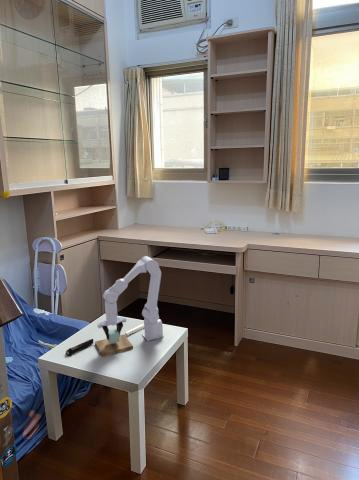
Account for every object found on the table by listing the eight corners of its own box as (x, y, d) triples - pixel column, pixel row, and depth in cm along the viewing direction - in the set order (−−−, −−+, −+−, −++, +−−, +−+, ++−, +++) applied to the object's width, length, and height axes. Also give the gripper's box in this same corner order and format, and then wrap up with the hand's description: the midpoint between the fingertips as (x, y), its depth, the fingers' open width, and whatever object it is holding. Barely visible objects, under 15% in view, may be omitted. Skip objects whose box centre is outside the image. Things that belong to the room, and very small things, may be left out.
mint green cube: (116, 337, 185) (116, 328, 184) (119, 341, 180) (119, 332, 179) (107, 339, 182) (106, 330, 181) (110, 343, 178) (109, 334, 177)
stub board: (124, 336, 192) (123, 330, 191) (133, 348, 180) (132, 341, 179) (95, 344, 185) (94, 337, 184) (102, 356, 173) (101, 349, 172)
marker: (147, 327, 205) (126, 337, 193) (145, 324, 206) (124, 334, 194) (149, 323, 204) (128, 334, 192) (146, 321, 205) (125, 331, 193)
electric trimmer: (95, 345, 185) (94, 339, 184) (69, 357, 174) (68, 351, 173) (91, 342, 188) (90, 337, 187) (65, 354, 176) (64, 348, 176)
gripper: (99, 319, 172) (101, 344, 175) (127, 312, 178) (129, 337, 181) (95, 313, 178) (97, 338, 181) (123, 307, 184) (124, 331, 187)
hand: (113, 337), depth 181 cm, fingers closed on mint green cube, 5 cm apart
